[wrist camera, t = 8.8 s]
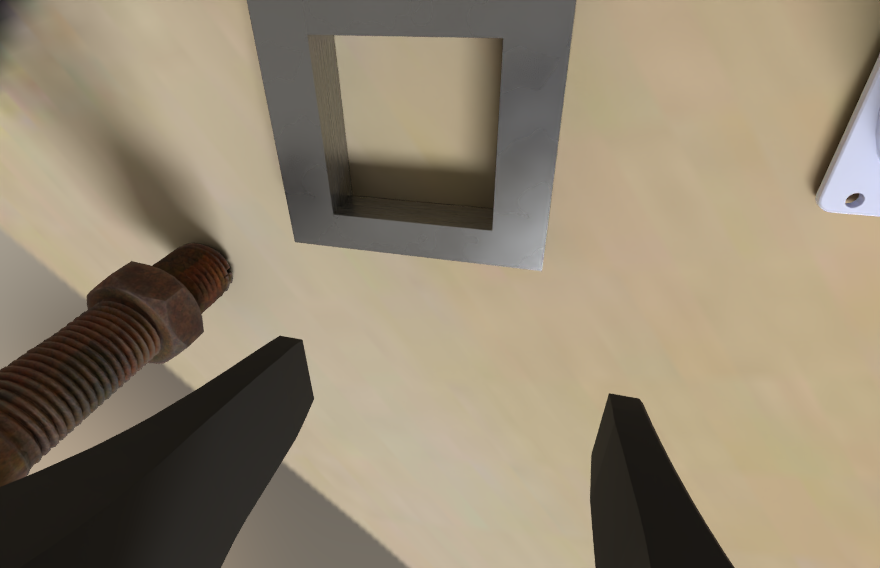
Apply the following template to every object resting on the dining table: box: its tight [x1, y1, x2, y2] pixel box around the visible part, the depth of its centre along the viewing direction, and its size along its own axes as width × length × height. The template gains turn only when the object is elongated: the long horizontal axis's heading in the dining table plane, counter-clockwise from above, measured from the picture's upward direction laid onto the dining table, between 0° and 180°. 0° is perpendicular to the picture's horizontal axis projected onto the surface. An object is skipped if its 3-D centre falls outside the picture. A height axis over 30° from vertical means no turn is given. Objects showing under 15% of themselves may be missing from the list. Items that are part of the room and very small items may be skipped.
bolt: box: [0, 243, 233, 487], centre depth 19 cm, size 6×5×15 cm
